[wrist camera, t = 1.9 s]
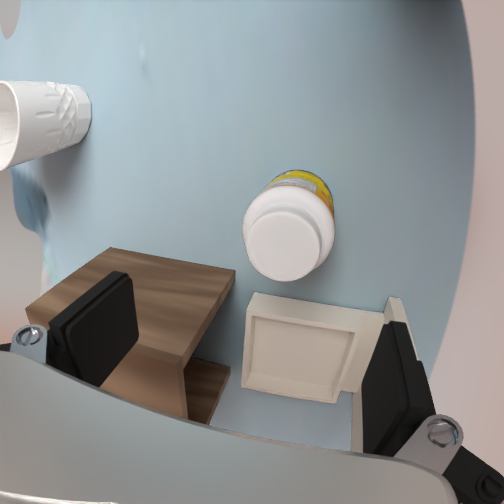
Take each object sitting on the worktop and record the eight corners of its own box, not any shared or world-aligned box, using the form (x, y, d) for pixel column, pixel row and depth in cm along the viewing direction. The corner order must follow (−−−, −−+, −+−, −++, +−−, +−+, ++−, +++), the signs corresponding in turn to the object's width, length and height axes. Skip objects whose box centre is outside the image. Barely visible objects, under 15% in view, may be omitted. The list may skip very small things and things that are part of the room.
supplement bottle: (323, 241, 27) (318, 307, 18) (259, 224, 27) (223, 280, 18) (341, 177, 24) (349, 213, 15) (273, 160, 25) (239, 185, 16)
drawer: (255, 275, 29) (215, 358, 19) (400, 298, 27) (426, 389, 17) (246, 379, 35) (216, 459, 25) (361, 397, 32) (361, 482, 22)
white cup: (89, 67, 25) (12, 63, 16) (104, 137, 27) (26, 153, 18) (42, 97, 27) (-28, 106, 18) (55, 160, 30) (-15, 182, 21)
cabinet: (110, 247, 32) (25, 308, 20) (235, 270, 30) (176, 364, 18) (125, 344, 38) (68, 414, 26) (230, 374, 35) (190, 465, 24)
